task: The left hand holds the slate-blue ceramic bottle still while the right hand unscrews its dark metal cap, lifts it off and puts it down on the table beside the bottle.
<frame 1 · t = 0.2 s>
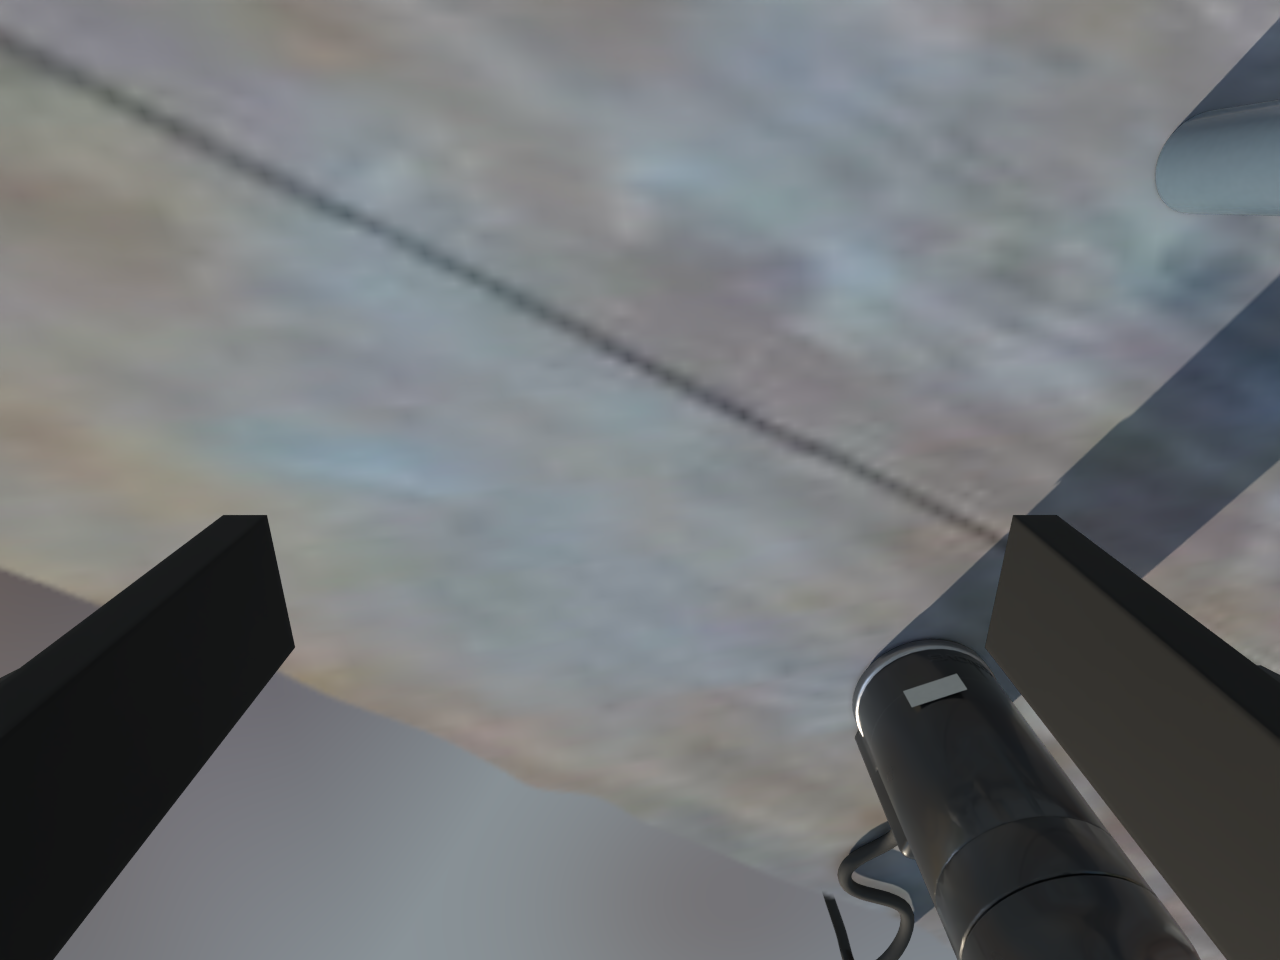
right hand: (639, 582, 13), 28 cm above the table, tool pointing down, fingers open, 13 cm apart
bottle: (1203, 163, 36), on the table
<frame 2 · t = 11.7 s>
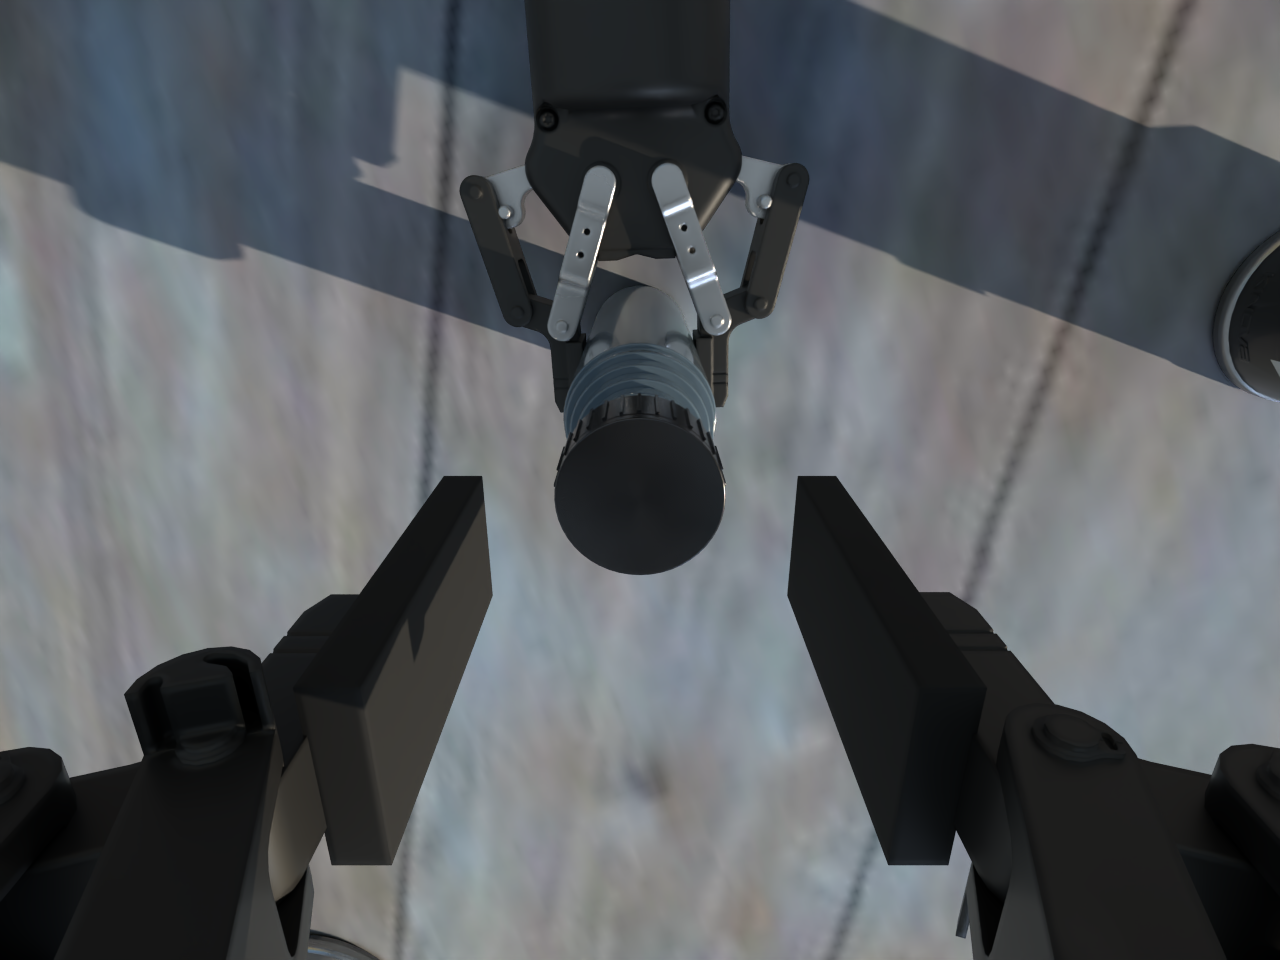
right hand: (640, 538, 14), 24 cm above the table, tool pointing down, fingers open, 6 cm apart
left hand: (642, 416, 32), fingers closed on bottle, 5 cm apart
cap: (639, 495, 16), point 22 cm above the table, screwed on, not yet turned
bottle: (640, 332, 37), on the table, touching left hand
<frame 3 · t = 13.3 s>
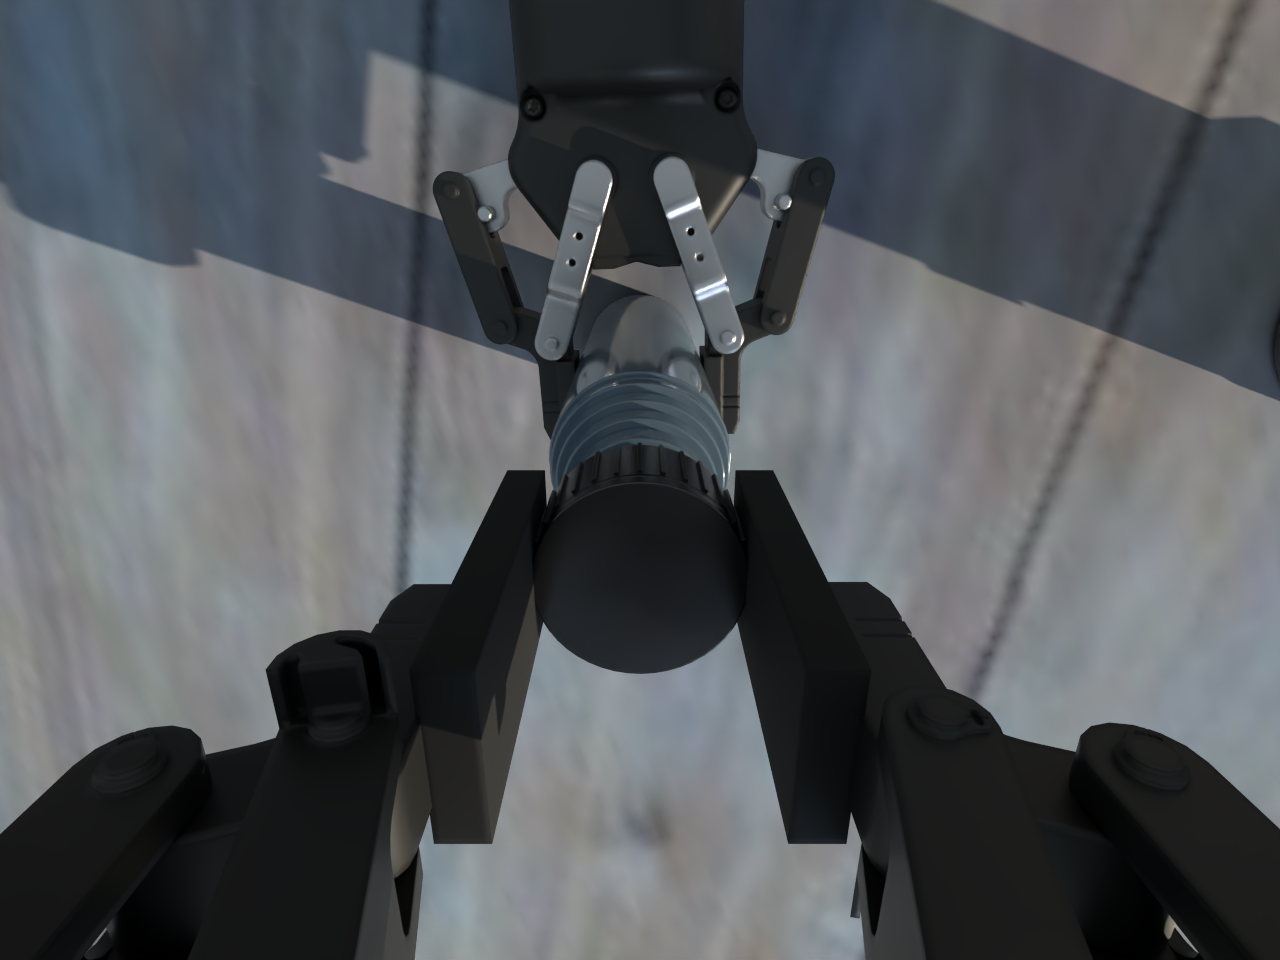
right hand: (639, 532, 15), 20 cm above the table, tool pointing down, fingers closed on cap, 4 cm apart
left hand: (643, 443, 28), fingers closed on bottle, 5 cm apart
cap: (640, 575, 13), point 22 cm above the table, screwed on, not yet turned, touching right hand
bottle: (640, 346, 33), on the table, touching left hand
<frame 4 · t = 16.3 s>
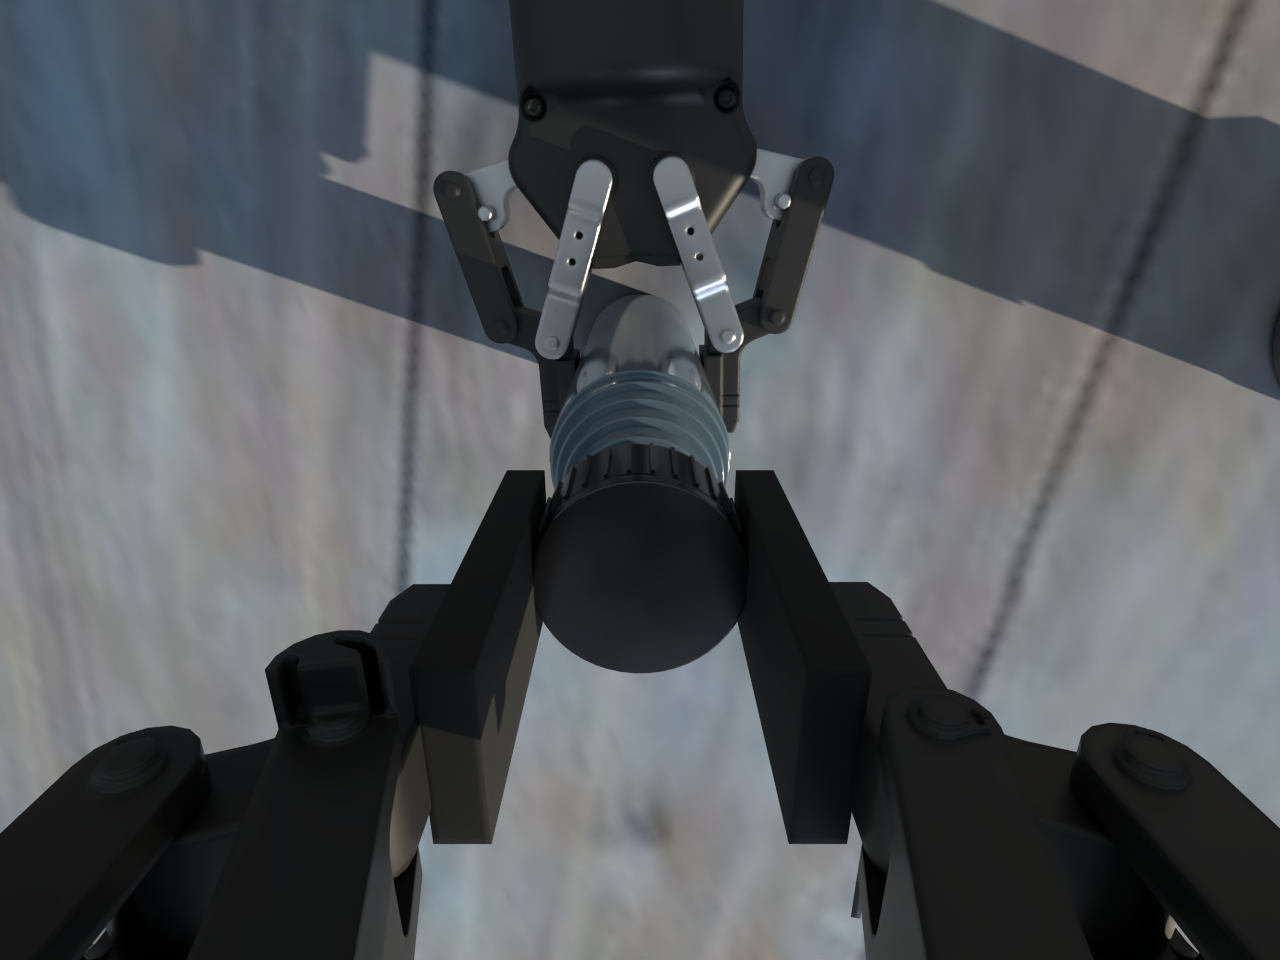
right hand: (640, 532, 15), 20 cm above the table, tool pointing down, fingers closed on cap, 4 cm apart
left hand: (643, 442, 28), fingers closed on bottle, 5 cm apart
cap: (640, 574, 13), point 22 cm above the table, turned 101° so far, risen 0.1 cm, still on its thread, touching right hand
bottle: (640, 346, 33), on the table, touching left hand
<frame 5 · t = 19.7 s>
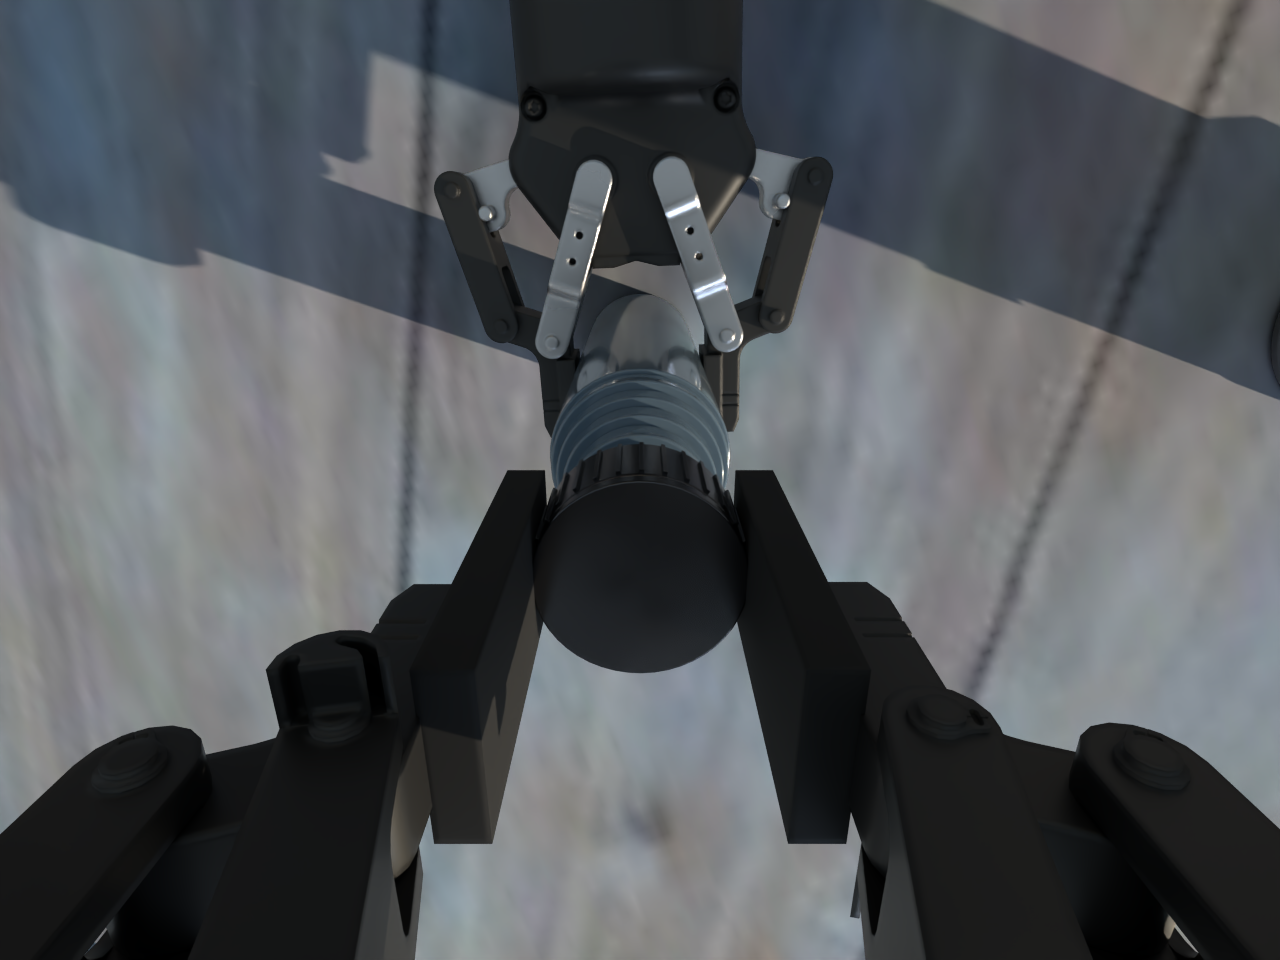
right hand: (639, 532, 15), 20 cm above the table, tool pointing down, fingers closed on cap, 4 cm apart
left hand: (643, 441, 28), fingers closed on bottle, 5 cm apart
cap: (640, 574, 13), point 22 cm above the table, turned 203° so far, risen 0.2 cm, still on its thread, touching right hand
bottle: (640, 345, 34), on the table, touching left hand
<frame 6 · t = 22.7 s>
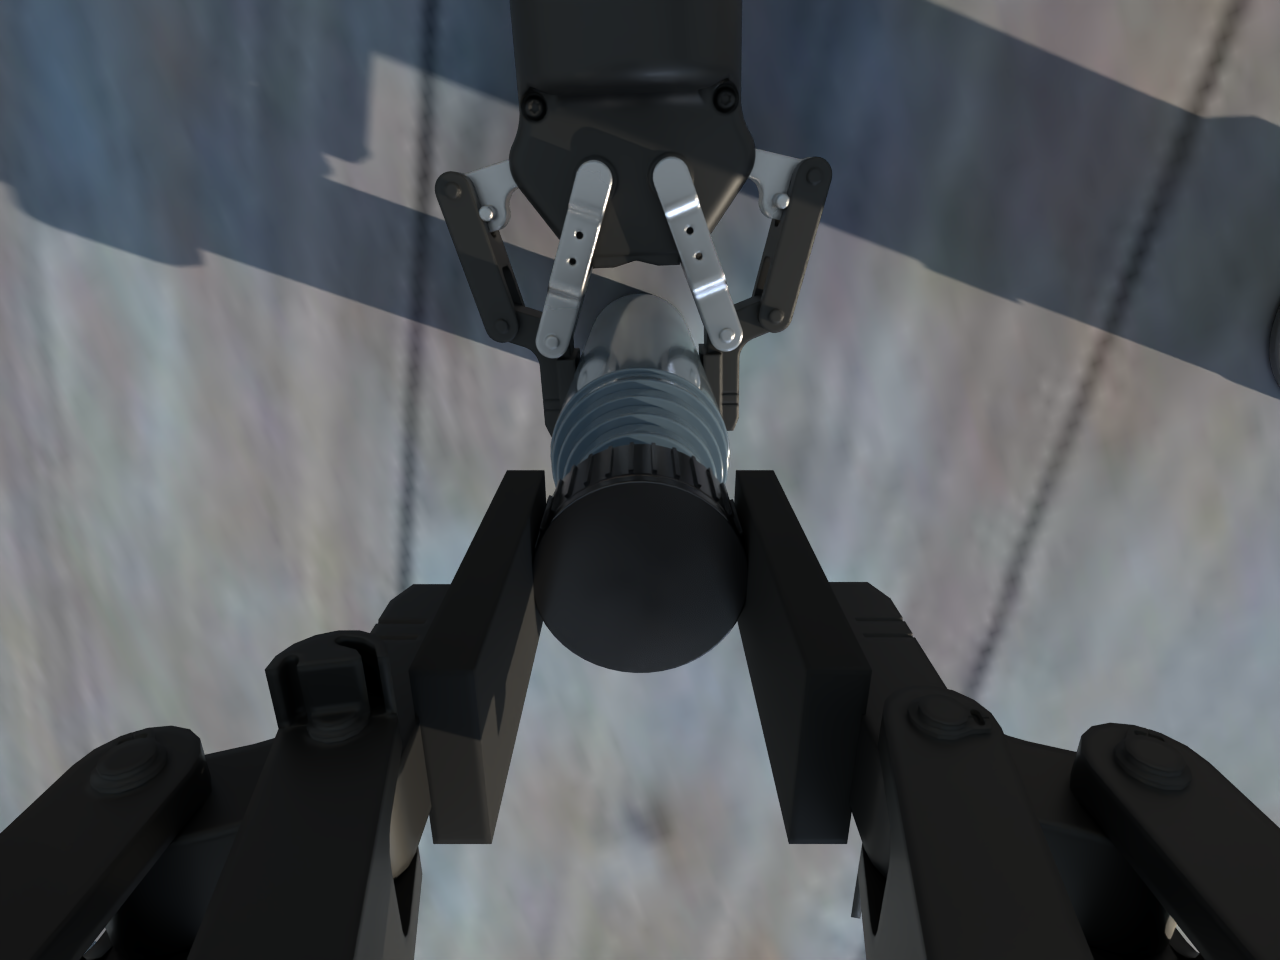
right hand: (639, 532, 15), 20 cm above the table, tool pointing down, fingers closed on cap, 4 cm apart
left hand: (643, 440, 29), fingers closed on bottle, 5 cm apart
cap: (640, 574, 13), point 22 cm above the table, turned 304° so far, risen 0.3 cm, still on its thread, touching right hand
bottle: (640, 345, 34), on the table, touching left hand
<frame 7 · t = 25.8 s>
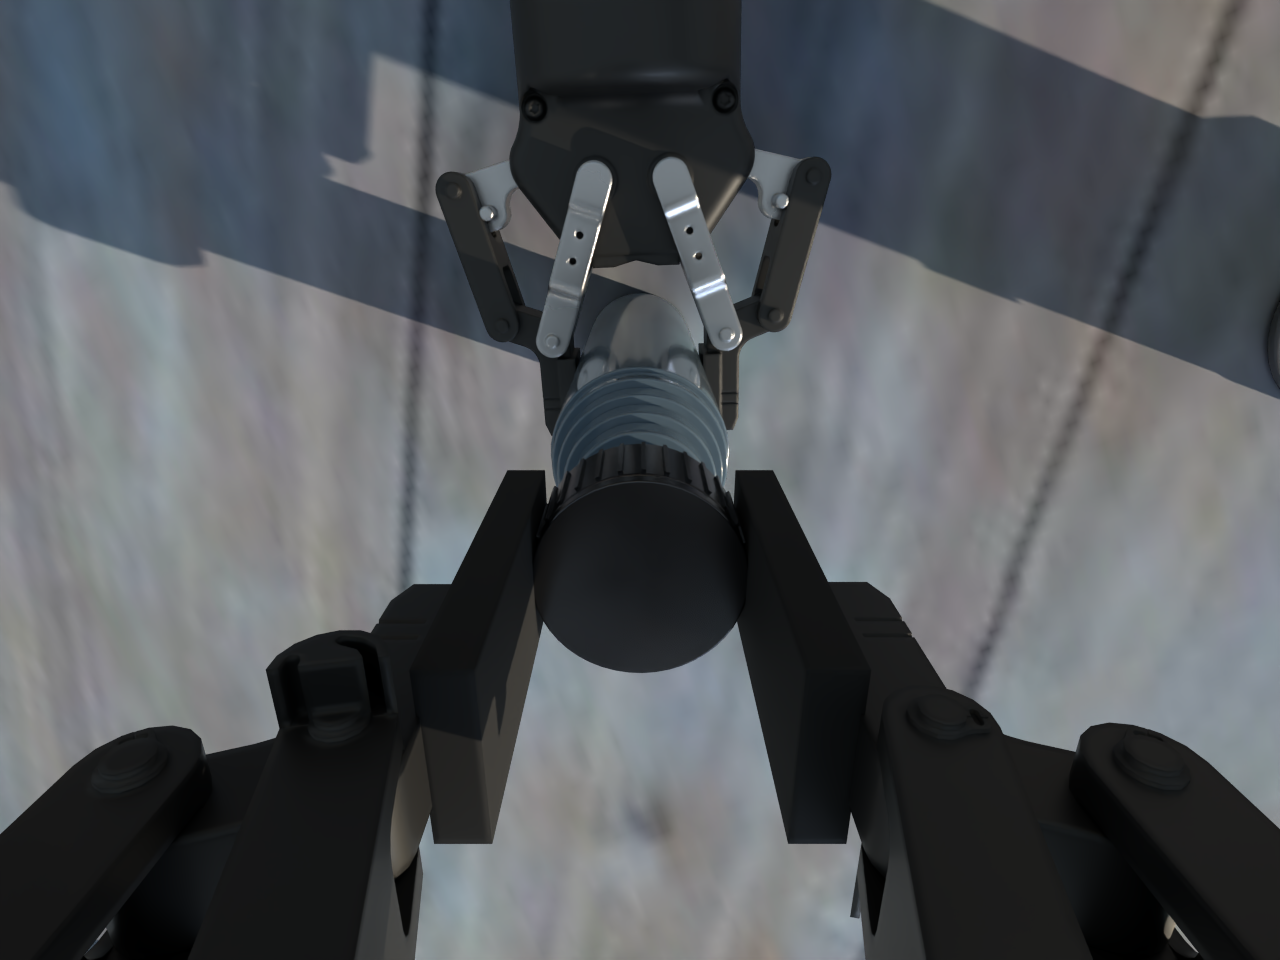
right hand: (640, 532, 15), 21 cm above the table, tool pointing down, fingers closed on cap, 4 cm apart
left hand: (643, 439, 29), fingers closed on bottle, 5 cm apart
cap: (640, 574, 13), point 22 cm above the table, turned 406° so far, risen 0.4 cm, still on its thread, touching right hand
bottle: (640, 344, 34), on the table, touching left hand
when the right hand's fingers open (1 cm above the table, at t = 32.2 s): cap drops 2 cm, point 2 cm above the table.
when the left hand's fingers open (7 cm above the table, at t = 33.5 s): bottle stays where it is, on the table.
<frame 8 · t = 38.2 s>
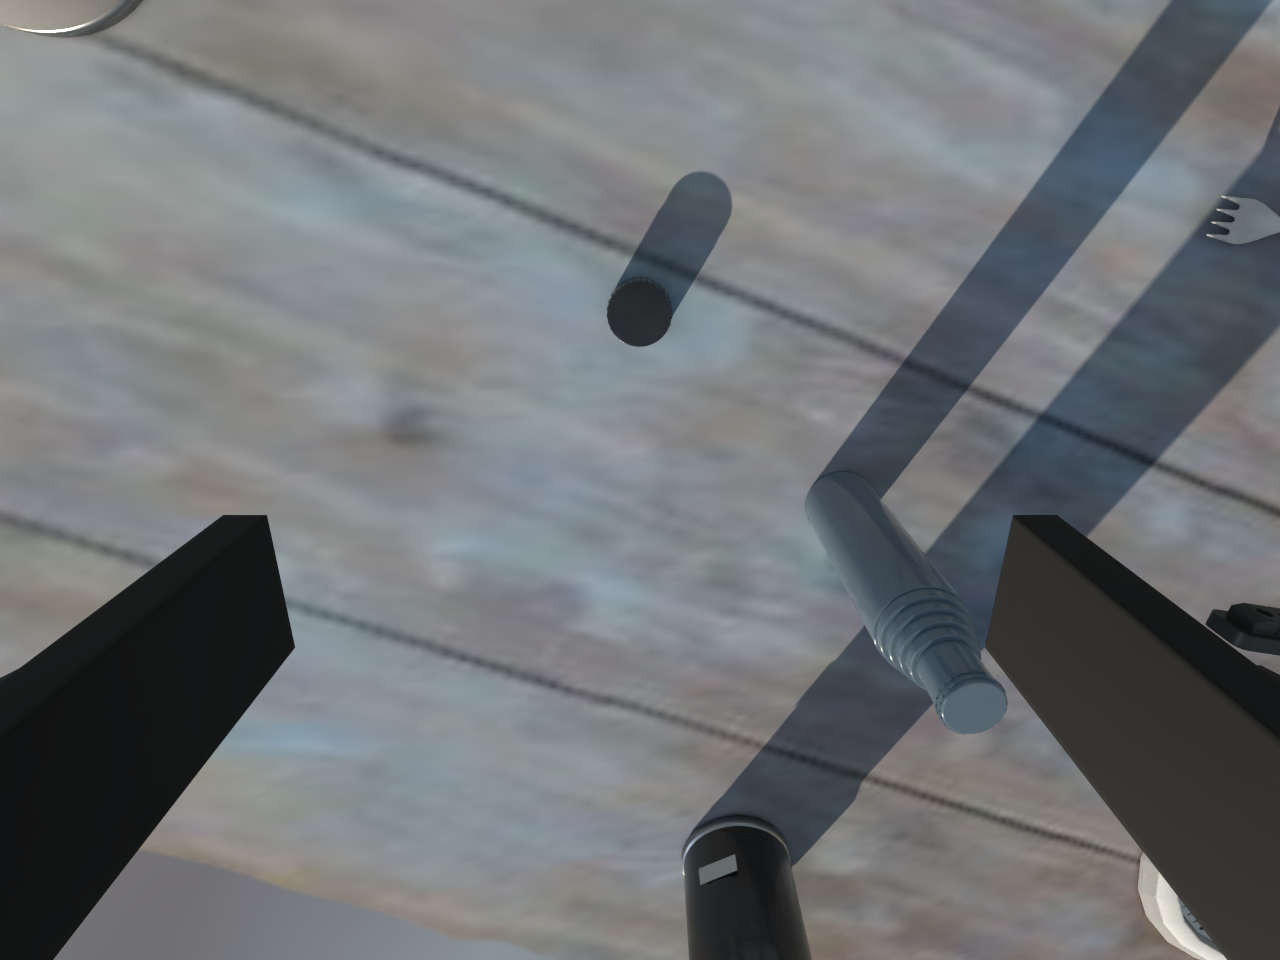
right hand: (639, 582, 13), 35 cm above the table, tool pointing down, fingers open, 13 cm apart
cap: (639, 313, 43), point 2 cm above the table, off its thread
bottle: (839, 503, 50), on the table
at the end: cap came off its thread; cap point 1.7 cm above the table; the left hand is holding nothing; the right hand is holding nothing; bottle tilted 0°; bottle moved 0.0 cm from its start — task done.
